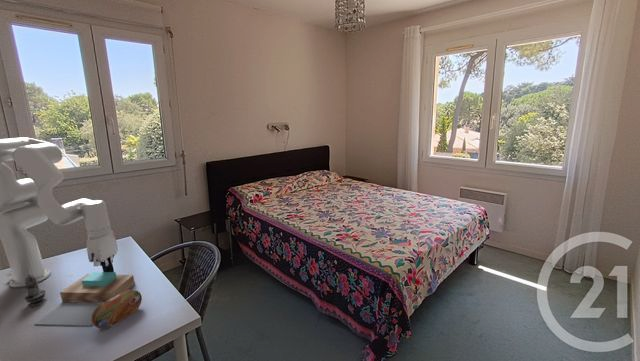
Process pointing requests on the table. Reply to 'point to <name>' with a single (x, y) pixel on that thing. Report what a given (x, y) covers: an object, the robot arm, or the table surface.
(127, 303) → the tin
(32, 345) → the table surface
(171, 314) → the table surface
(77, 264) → the table surface
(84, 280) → the turquoise foam pad
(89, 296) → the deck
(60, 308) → the mat
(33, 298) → the grey chess piece
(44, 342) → the table surface
